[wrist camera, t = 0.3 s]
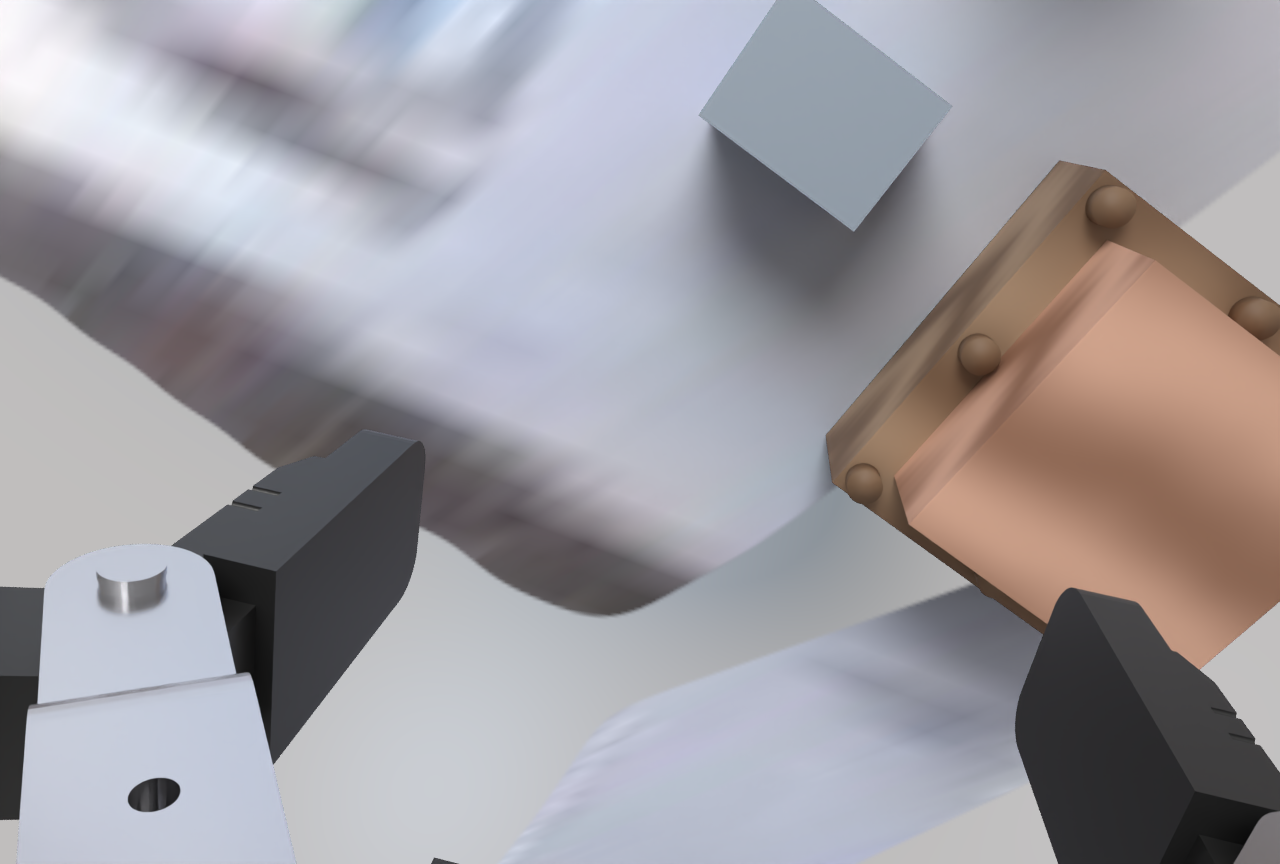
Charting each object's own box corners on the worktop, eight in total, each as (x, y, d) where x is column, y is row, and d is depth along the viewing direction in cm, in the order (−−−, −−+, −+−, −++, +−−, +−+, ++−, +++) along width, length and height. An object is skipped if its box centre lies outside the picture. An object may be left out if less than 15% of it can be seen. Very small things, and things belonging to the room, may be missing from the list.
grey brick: (788, 1, 33) (789, -20, 27) (923, 105, 33) (952, 106, 28) (712, 113, 34) (698, 115, 29) (842, 210, 35) (853, 231, 29)
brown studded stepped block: (1059, 160, 33) (1154, 180, 25) (1336, 374, 34) (1518, 463, 26) (825, 435, 38) (838, 531, 29) (1076, 616, 39) (1159, 759, 30)
